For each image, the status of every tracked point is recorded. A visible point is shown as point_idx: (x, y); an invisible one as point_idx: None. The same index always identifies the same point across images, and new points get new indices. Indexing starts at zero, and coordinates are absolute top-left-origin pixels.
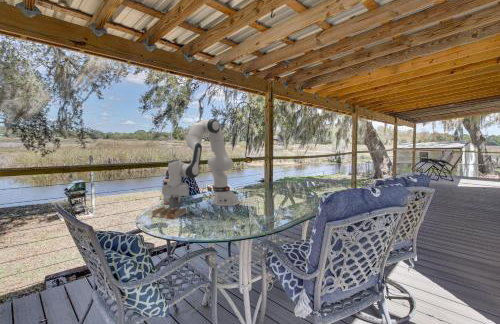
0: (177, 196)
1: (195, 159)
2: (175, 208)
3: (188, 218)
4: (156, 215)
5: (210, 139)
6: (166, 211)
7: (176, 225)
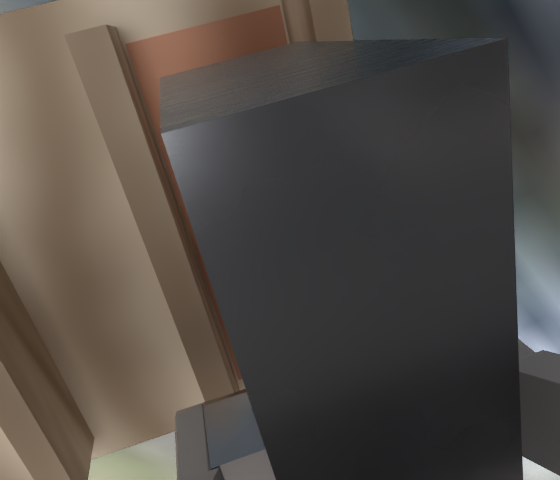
0: (458, 461)
1: None
2: (158, 191)
3: (545, 240)
4: (6, 472)
5: None
6: (8, 309)
7: (544, 471)
